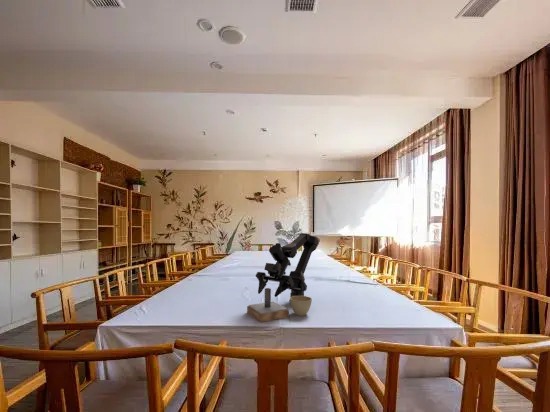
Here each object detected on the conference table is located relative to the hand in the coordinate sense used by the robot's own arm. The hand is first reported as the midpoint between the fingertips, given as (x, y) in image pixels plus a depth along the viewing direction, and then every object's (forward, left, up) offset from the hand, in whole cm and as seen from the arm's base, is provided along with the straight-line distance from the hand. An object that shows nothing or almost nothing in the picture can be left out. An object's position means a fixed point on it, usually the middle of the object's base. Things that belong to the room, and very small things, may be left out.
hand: (266, 294), depth 130 cm
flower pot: (-15, +6, -9) cm, 18 cm away
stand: (-1, 0, -9) cm, 9 cm away
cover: (-1, 0, -6) cm, 6 cm away
